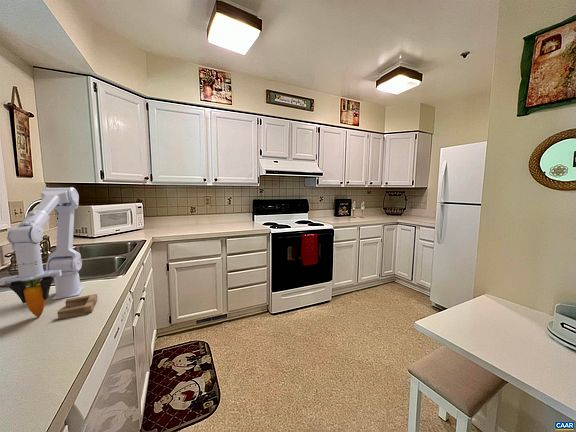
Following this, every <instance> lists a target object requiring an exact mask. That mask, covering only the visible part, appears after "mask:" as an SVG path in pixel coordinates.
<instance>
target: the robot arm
mask: <svg viewBox="0 0 576 432" xmlns="http://www.w3.org/2000/svg"><path fill="white" fill-rule="evenodd" d="M40 196H41V201H40V202H39V204H38V205H37V207H36V208H35V210H31V211H29V212H28V213H27V214H26V216H25V217H24V218H23V219H22V221H21V222H20V224H18V226H14V227H12V228H10V229H9V230H8V232H7V237H6V240H7V242H8V243H9V244H10V246H11V250H13V251H14V254H15V259H16V266H17V271H18V274H17V275H10V276H5V277H2V278H0V286H4V285H7V284H10V285H9V289H10V290H12V291H13V292H14V293H15V294H16V295H17V297H19V299H20V300H21V303H22V304H26V301H25V297H24V293H23V291H24V289H25V288H27V281H26V280H33V281H35V280H37V279H38V278H40V280H39V284H40V285H41V288H42V291H43V299H44V300H45V301H46V300H48V298H49V297H50V296H49V295H50V290H51V286H52V283H53V281H54V287H55V295H54V297H52V300H58V299H59V300H60V299H64V298H69V297H70V298H71V297H76V296H79V295H80V293H81V292H82V290H83V288H84V286H83V285H81V280H80V273H79V271H80V270H81V269H82V266H83V260H82V255H81V253H80V252H78V251H77V250H75V249H73V247H74V228H75V211H76V210H77V209H78V208H79V204H80V203H79V202H80V201H79V200H80V196H79V193H78V191H77V189H76V188H75V187H73V186H70V187H44V188H43V189H42V191H41V193H40ZM53 210H54V211H55V210H56V211H57V214H58V215H57V216H58V217H57V228H56V229H57V231H56V247H55V250H54V251H52V252H51V253H50V254H49V255H48V257H47V262H46V263H45V270H44V265H43V259H42V254H41V253H42V251H41V246H40V245H41V244H40V242H41V241H42V240H43V237H44V232H45V230H44V228H45V227H46V226H47V224H48V223H49V221H50V216H49V214H51V212H52V211H53Z"/></svg>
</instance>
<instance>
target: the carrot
mask: <svg viewBox="0 0 576 432" xmlns="http://www.w3.org/2000/svg"><path fill="white" fill-rule="evenodd" d="M40 281H41V279H40V278H38V279H37V280H26V283H27V286H26V288H25V289H24V291H23V293H24V297H25V301H26V303H25V304H26V306H27V308H28V309H29V311H30V312H31V313H32V314H33V315H34V316H35V317H36V318H39V317H41V316H42V314H43V312H44V309H45V304H46V300H44V299H43V291H42V288H41V285H40V283H38V282H40ZM37 283H38V284H37Z"/></svg>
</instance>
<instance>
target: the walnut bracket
mask: <svg viewBox="0 0 576 432" xmlns="http://www.w3.org/2000/svg"><path fill="white" fill-rule="evenodd" d="M98 300H99V299H98V294H97V293H95V294H88V295H84V296H78V297H72V298H71V297H70V298H67V299H66V300H65V303H64V304H65V307H66V308H63V309H59V310H58V311H57V320H63V319H64V320H65V319H67V318H72V317H77V316H78V317H79V316H82V315H87V314H93V311H94V309H95V308H96V307H95V306H96V305H97V302H98Z"/></svg>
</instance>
